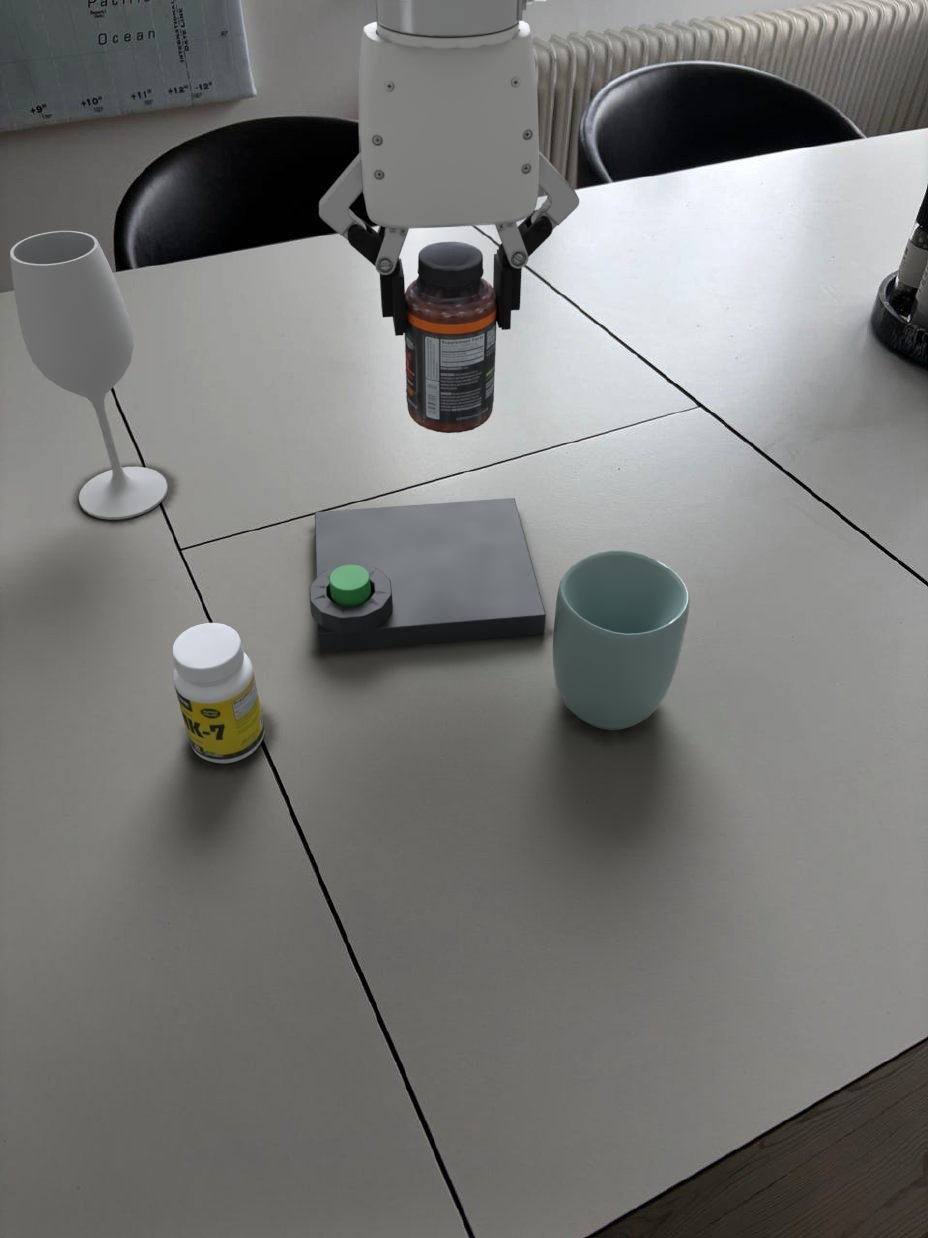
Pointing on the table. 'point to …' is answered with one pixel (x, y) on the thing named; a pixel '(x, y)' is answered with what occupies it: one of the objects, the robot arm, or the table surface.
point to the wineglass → (82, 349)
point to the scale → (427, 575)
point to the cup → (617, 637)
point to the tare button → (350, 585)
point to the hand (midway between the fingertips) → (450, 320)
